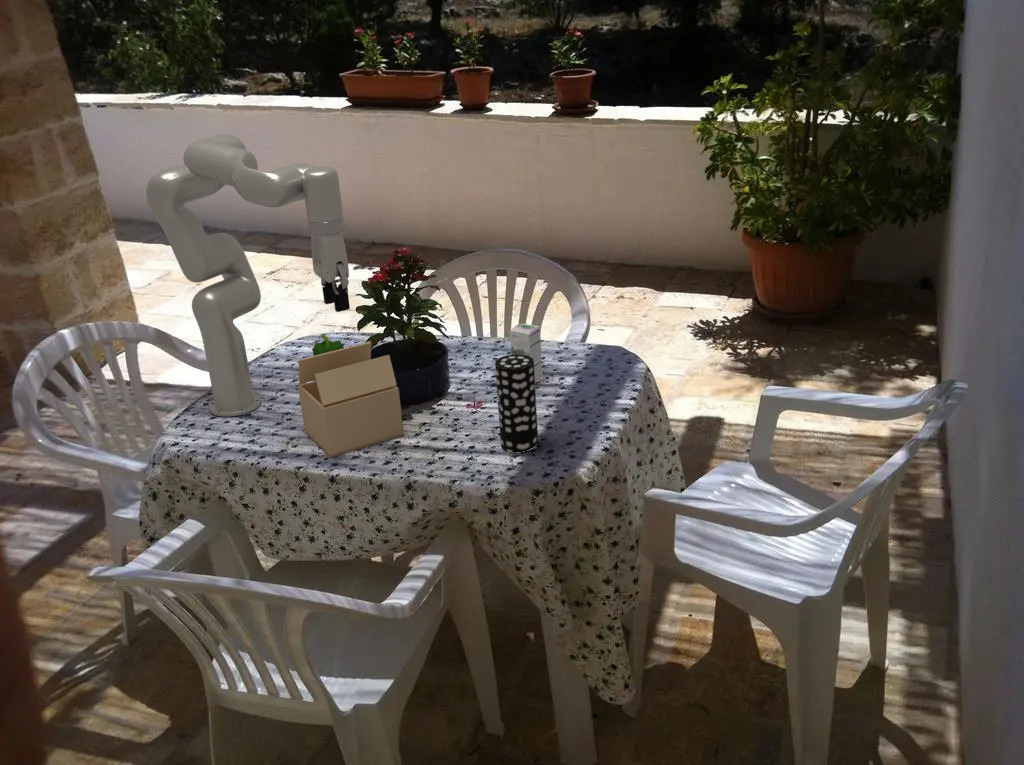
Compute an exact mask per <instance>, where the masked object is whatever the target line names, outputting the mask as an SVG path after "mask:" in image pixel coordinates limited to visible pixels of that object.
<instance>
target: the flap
mask: <svg viewBox="0 0 1024 765" xmlns="http://www.w3.org/2000/svg"><path fill="white" fill-rule="evenodd" d="M371 359H372V341H367V342H363V343H359V344H354V345H351V346H346V347H344V348H343V349H339V350H335V351H331V352H327V353H323V354H319V355H315V356H314V355H313V356H308V357H304V358H300V359H298V361H297V362H298V385H302V384H306V383H309V382H313V381H316V378H315V374H318V373H321V372H325V371H329V370H333V369H337V368H340V367H344V366H348V365H352V364H356V363H360V362H363V361H367V360H371Z"/></svg>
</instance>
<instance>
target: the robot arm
mask: <svg viewBox="0 0 1024 765" xmlns="http://www.w3.org/2000/svg"><path fill="white" fill-rule="evenodd" d="M182 158H183V164H179V165H174V166H171V167H168V168H166V169H163V170H160V171H159V172H157V173H156V174H154V175H153V176H152V177H151V178H150V179H149V180H148V182H147V185H146V189H145V191H146V192H145V196H146V201H147V205H148V207H149V210H150V212H151V213H152V215H153V217H154V218H155V219H156V221H157V222H158V224H159V225H160V227H161V228H162V230H163V232H164V234H165V236H166V238H167V241H168V244H169V245H170V248H171V250H172V252H173V254H174V256H175V259H176V260H177V263H178V265H179V267H180V269H181V270H180V271H182V274H183V275H184V277H185V278H186V279H187V281H189V282H192V283H203V282H206V281H208V280H211V279H214V278H217V277H219V276H222V278H223V279H222V280H220V281H217V282H214V283H212V284H210V285H208V286H205V287H204V288H201V289H200V290H199V291H197V293H195V294H194V296H193V298H192V300H191V310H192V313H193V316H194V319H195V321H196V323H197V326H198V328H199V331H200V335H201V339H202V344H203V348H204V355H205V358H206V364H207V369H208V374H209V381H210V384H211V385H210V386H211V391H212V395H213V400H212V401H211V402H209V404H208V409H209V410H208V411H209V412H210V414H212V415H214V416H217V417H222V418H223V417H225V418H227V417H237V416H241V415H245V414H248V413H250V412H253V411H255V410H256V409H258V408H259V407H260V406H261V403H262V399H261V396H260V395H259V394H258V393H254V389H253V383H252V379H251V378H252V377H251V373H250V366H249V361H248V356H247V350H246V344H245V339H244V337H243V336H244V335H243V333H242V332H241V330H240V329H239V328H238V327H237V326H236V325H235V324H234V320H235V319H238V318H239V317H241V316H244V315H246V314H247V313H250V312H252V311H254V310H255V309H257V308H258V307H259V306H260V303H261V300H262V299H261V298H262V294H261V289H260V286H259V284H258V280H257V278H256V276H255V273H254V272H253V269H252V267H251V264H250V263H249V259H248V257H247V255H246V253H245V251H244V249H243V246H242V245H241V244H240V242H239V241H238V240H237V239H236V238H235V237H234V236H232V234H229V233H227V232H220V233H219V232H218V233H214V234H211V235H207V234H206V231H205V229H204V227H203V224H202V222H201V220H200V218H199V217H197V215H196V214H195V213H194V212H192V211H191V210H190V209H189V208H188V207H185V206H184V205H185V204H186V203H189V202H193V201H197V200H200V199H203V198H206V197H210V196H212V195H214V194H216V193H218V192H219V191H220V190H222V189H223V188H224V186H229V187H232V188H234V189H235V191H236V193H237V194H238V195H239V196H240V197H241V198H242V199H243V200H244V201H246V202H249V203H251V204H255V205H259V206H263V207H267V208H281V207H283V206H287V205H290V204H293V203H295V202H298V201H302V200H304V203H305V212H306V218H307V226H308V232H309V236H310V247H311V260H312V261H311V262H312V267H313V268H312V269H313V273H314V275H315V276H317V277H319V278H320V280H321V281H320V285H321V286H322V288H321V289H322V296H323V302H324V304H325V305H330V304H334V311H335V312H336V313H340V312H344V311H348V310H350V308H351V307H350V305H351V304H350V299H349V298H350V297H349V289H348V287H349V283H350V281H349V277H350V268H349V260H348V255H347V249H346V248H347V247H346V244H345V241H344V240H345V239H344V236H343V234H345V233H346V228H345V221H344V214H343V212H344V211H343V204H342V196H341V189H340V180H339V175H338V172H337V170H336V169H335V168H333V167H331V166H315V165H313V164H310V163H306V162H297V163H294V164H289V165H287V166H282V167H280V168H279V167H278V168H277V169H273V170H270V171H263V170H258V169H259V166H258V161H257V158H256V156H255V155H254V154H253V152H252V151H250V150H247V149H246V147H245V144H244V143H243V141H242V140H241V139H240V138H238V137H237V136H235V135H233V134H230V133H221V134H217V135H213V136H209V137H205V138H201V139H198V140H195V141H193V142H192V143H191V144H189V145H188V146H187V147H186V149H185V150H184V153H183V157H182ZM336 278H337V279H336ZM337 283H339V284H337Z"/></svg>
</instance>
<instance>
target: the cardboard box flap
mask: <svg viewBox="0 0 1024 765" xmlns="http://www.w3.org/2000/svg"><path fill="white" fill-rule="evenodd" d="M315 378H316V380H315V381H316V382H317V386H318V390H319V394H320V398H321V402H322V405H327V404H330V403H334V402H338V401H341V400H345V399H348V398H352V397H356V396H359V395H363V394H366V393H370V392H374V391H377V390H381V389H384V388H388V387H392V386H397V381H396V380H397V379H396V377H395V372H394V369H393V364H392V361H391V356H390V354H387V355H382V356H379V357H374V358H371V360H367V361H363V362H360V363H356V364H352V365H348V366H344V367H340V368H337V369H333V370H329V371H325V372H321V373H318V374H315Z"/></svg>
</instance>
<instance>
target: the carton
mask: <svg viewBox="0 0 1024 765" xmlns="http://www.w3.org/2000/svg"><path fill="white" fill-rule="evenodd" d="M297 388H298V395H299V402H300V408H301V414H302V415H301V416H302V421H303V427H304V433H305V434H306V435H307V436H308V437H309V438H310V439H311V440H312V441H313V442H314V443H315V444H316V445H317V446H318V447H319V448H320V449H321V451H323V453H324V454H325V455H327V456H328V457H329V459H332V458H335V457H338V456H339V457H340V456H342V455H345V454H349V453H352V452H354V451H358V450H362V449H366V448H369V447H372V446H375V445H379V444H381V443H385V442H388V441H392V440H395V439H398V438H401V437H404V436H405V435H404V434H405V433H404V425H403V418H402V417H403V416H402V407H401V399H400V389H399V387H398V386H397V385H395V386H392V387H388V388H384V389H381V390H377V391H374V392H370V393H366V394H363V395H359V396H356V397H352V398H348V399H345V400H341V401H338V402H334V403H330V404H327V405H322V402H321V398H320V394H319V390H318V386H317V382H316V380H315V381H311V382H307V383H303V384H298V385H297Z"/></svg>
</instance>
